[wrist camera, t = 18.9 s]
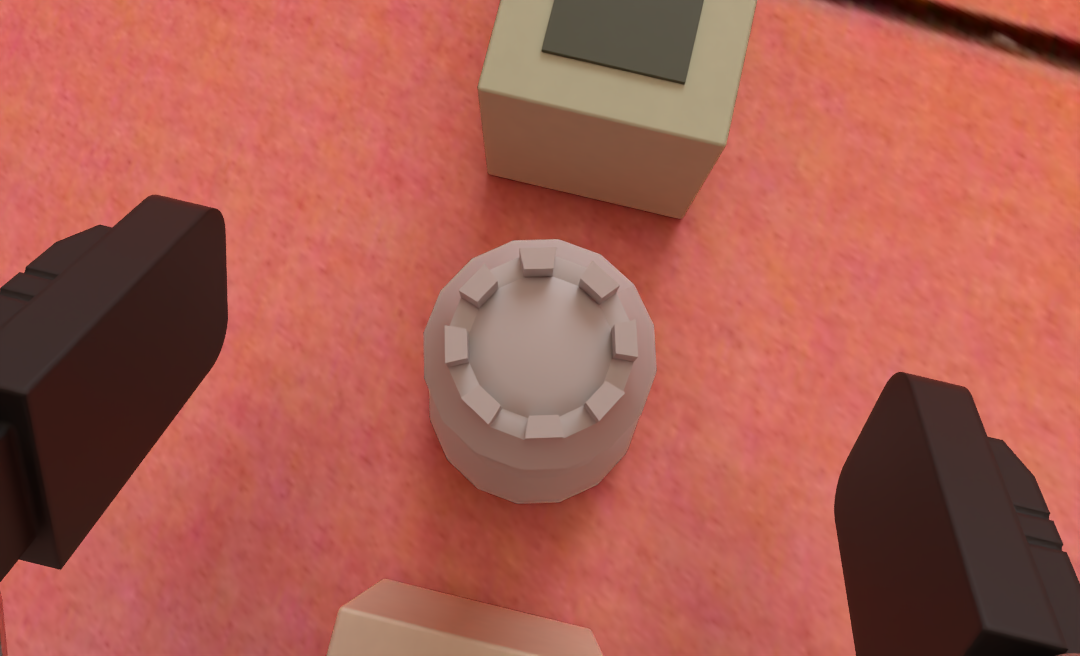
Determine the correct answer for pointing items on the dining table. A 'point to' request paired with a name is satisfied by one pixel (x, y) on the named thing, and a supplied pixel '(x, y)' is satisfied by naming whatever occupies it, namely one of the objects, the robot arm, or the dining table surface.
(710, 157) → the block
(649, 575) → the dining table surface
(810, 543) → the dining table surface
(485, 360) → the rook chess piece
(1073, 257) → the dining table surface
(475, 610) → the block
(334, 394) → the dining table surface
